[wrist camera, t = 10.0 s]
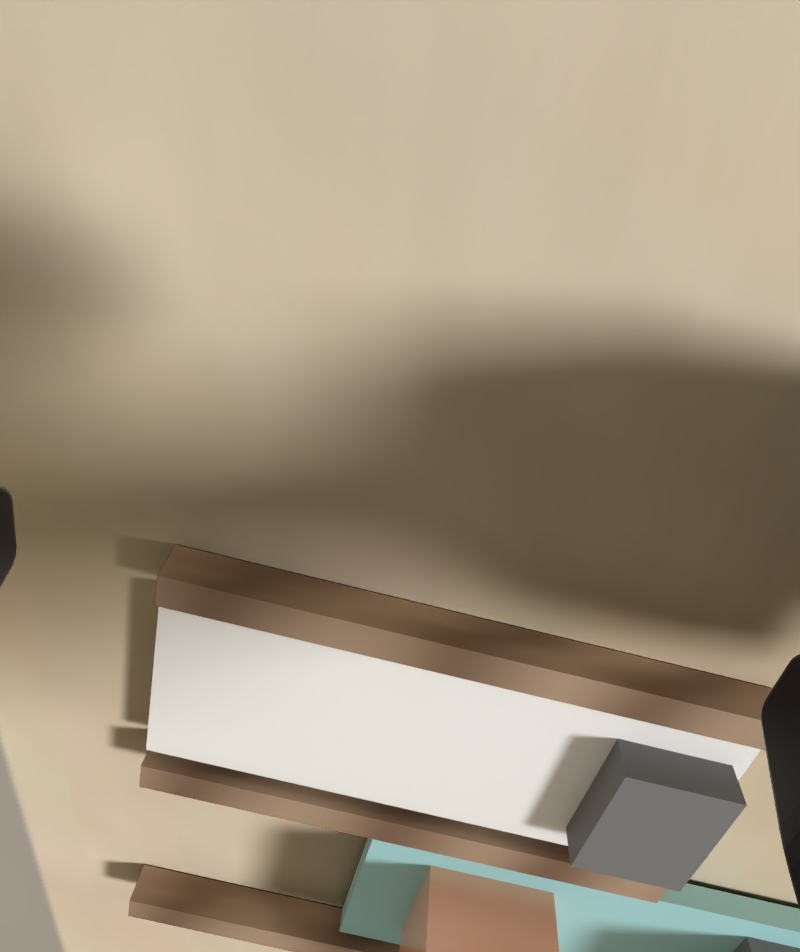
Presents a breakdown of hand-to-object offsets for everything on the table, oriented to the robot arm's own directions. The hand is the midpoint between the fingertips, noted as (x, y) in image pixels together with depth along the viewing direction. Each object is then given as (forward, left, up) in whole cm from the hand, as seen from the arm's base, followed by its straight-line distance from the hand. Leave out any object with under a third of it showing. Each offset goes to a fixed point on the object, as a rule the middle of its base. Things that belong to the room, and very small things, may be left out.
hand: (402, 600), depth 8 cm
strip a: (-4, +15, -12) cm, 20 cm away
